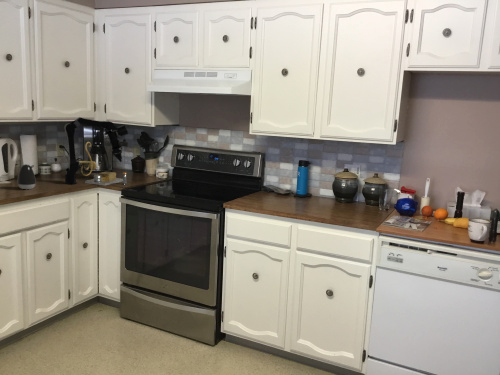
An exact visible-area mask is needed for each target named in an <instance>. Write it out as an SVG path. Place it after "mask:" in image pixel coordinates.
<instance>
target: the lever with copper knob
mask: <svg viewBox="0 0 500 375" xmlns="http://www.w3.org/2000/svg"><path fill="white" fill-rule="evenodd" d="M122 179H123V181H122V185H124V186H125V185H127V172H122Z"/></svg>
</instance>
